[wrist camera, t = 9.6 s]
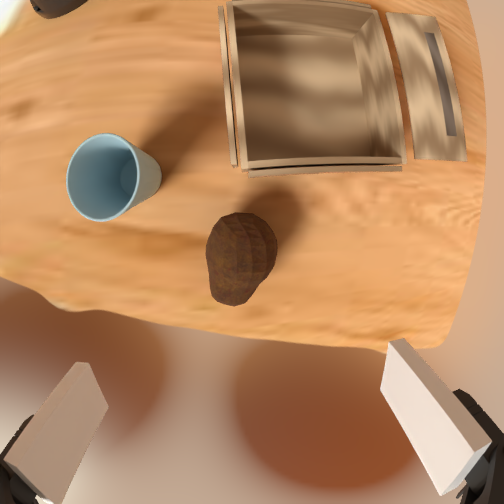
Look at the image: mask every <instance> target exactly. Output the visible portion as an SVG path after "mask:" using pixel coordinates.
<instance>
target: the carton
mask: <svg viewBox="0 0 504 504" xmlns="http://www.w3.org/2000/svg"><path fill="white" fill-rule="evenodd" d="M226 5H227V16H228V27H229V39H230V50H231V61H232V72H233V83H234V94H235V105H236V116H237V127H238V138H239V149H240V160H241V170H242V172H248V178H255V177H267V176H280V175H296V174H315V173H344V172H394V171H402V166H383V165H397V164H407V157H406V146H405V137H404V128H403V121H402V114H401V107H400V101H399V95H398V90H397V84H396V79H395V75H394V70H393V65H392V61H391V57H390V53H389V49H388V45H387V41H386V38H385V34H384V31H383V27H382V24H381V21H380V18H379V15H378V12H377V10H374V9H371V6H370V5H368V4H363V3H358V2H352V1H345V0H232V1H229V2H226ZM218 15H219V29H220V42H221V55H222V67H223V80H224V92H225V104H226V115H227V127H228V138H229V149H230V160H231V165H232V166H233V168H237V167H238V159H237V149H236V138H235V127H234V116H233V104H232V93H231V82H230V70H229V59H228V47H227V35H226V26H225V18H224V10H223V6H218Z"/></svg>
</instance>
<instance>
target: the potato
mask: <svg viewBox="0 0 504 504" xmlns="http://www.w3.org/2000/svg"><path fill="white" fill-rule="evenodd" d="M276 255H277V240H276V237H275V235H274V233H273V231H272V229H271V228H270V227H269V226H268V224H267V223H266V222H265V221H263V220H262V219H260V218H259V217H257V216H255V215H254V214H250V213H236V212H235V213H233V214H230V215H227V216H224V217H221V218H220V219H219V221H218V222H217V223H216V224H215V225H214V227H213V229H212V231H211V234H210V236H209V239H208V242H207V245H206V259H207V265H208V271H209V281H210V289H211V294H212V296H213V298H214V299H215V300H216V301H217V302H220V303H223V304H226V305H230V306H237V305H241V304H244V303H246V302H247V300H248V299H249V298H250V297H251V296H252V294H253V293H254V291H255V290H256V288H257V287H258V285H259V284H260V283H261V282H262V281H263V280H264V279H266V278H267V276H268V275H269V273H270V272H271V270H272V269H273V267H274V264H275V260H276Z"/></svg>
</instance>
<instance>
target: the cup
mask: <svg viewBox="0 0 504 504" xmlns="http://www.w3.org/2000/svg"><path fill="white" fill-rule="evenodd" d="M161 179H162V173H161V168H160V166H159V164H158V163H157V162H156V160H155V159H154V158H152V157H151V156H150V155H148V154H147V153H145V152H143V151H142V150H140V149H139V148H137V147H136V146H134V145H133V144H131V143H130V142H128V141H127V140H125V139H124V138H122V137H120V136H118V135H116V134H111V133H102V134H97V135H94V136H92V137H90V138H88V139H87V140H85V141H84V142H83V143H82V144H81V145H80V146H79V147H78V148H77V149H76V151H75V152H74V154H73V156H72V158H71V160H70V162H69V165H68V169H67V176H66V185H67V192H68V195H69V198H70V200H71V203H72V204H73V206H74V207H75V209H76V210H77V211H78V212H79V213H80V214H81V215H83V216H84V217H86V218H88V219H90V220H93V221H108V220H112V219H114V218H116V217H118V216H120V215H121V214H123V213H125V212H126V211H128V210H129V209H130V208H132V207H134V206H136V205H137V204H139V203H141V202H143V201H144V200H146V199H148V198H150V197H151V196H153V195H154V194H155V193H156V191H157V190H158V188H159V187H160V184H161Z"/></svg>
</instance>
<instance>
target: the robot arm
mask: <svg viewBox="0 0 504 504" xmlns="http://www.w3.org/2000/svg"><path fill="white" fill-rule="evenodd" d="M86 1H87V0H30V2H31V4H32V6H33V8H34V10H35V12H36V13H38V14H39V15H41V16H42V17H44V18H47V19H52V18H56V17H60V16H62V15H64V14H67V13H69V12H70V11H72V10H74V9H75V8H77V7H79V6H80V5H81V4H83V3H84V2H86ZM380 390H381V391H382V394H383V395H384V397H385V398H386V400H387V402H388V404H389V405H390V407H391V409H392V410H393V412H394V414H395V415H396V417H397V419H398V421H399V422H400V424H401V426H402V428H403V429H404V431H405V433H406V435H407V436H408V438H409V440H410V442H411V443H412V445H413V447H414V449H415V451H416V452H417V454H418V456H419V458H420V460H421V461H422V463H423V465H424V466H425V469H426V471H427V472H428V474H429V476H430V478H431V480H432V482H433V484H434V485H435V487H436V489H437V491H438V493H439V495H440V496H441V495H443V494H445V493H447V492H449V491H451V490H453V489H455V488H456V487H458V486H459V484H460V483H461V482H462V481H463V480H464V479H465V480H466V482H467V484H466V485H465V487H464V488H463V489H462V490H461V491H460V492H459V493H458V495H457V497H456V498H459V497H460V496H461V495H462V494H463V496H462V499H461V503H460V504H504V433H502V431H501V430H500V429H499V428H498V427H497V425H496V424H495V423H494V422H493V421H492V419H491V418H490V417H489V416H488V415H487V414H486V412H485V411H483V409H482V408H481V407H480V406H479V405H477V403H476V401H475V400H474V399H473V398H472V397H471V396H470V395H469V394H468V393H466V392H464V391H462V390H460V389H458V390H456V391H453V392H452V391H451V390H450V389H449V388H448V387H447V386H446V384H445V383H444V382H443V381H442V380H441V379H440V378H439V376H438V375H437V374H436V373H435V372H434V371H433V370H432V369H431V367H430V366H429V365H428V364H427V363H426V362H425V361H424V360H423V359H422V357H421V356H420V355H419V354H418V353H417V352H416V351H415V350H414V349H413V348H412V346H411V345H410V344H409V343H408V342H407V341H406V340H405V339H404V338H403V339H399V340H394V341H390V342H389V344H388V351H387V357H386V362H385V368H384V373H383V378H382V383H381V388H380ZM107 409H108V405H107V403H106V401H105V398H104V397H103V394H102V392H101V390H100V388H99V386H98V383H97V381H96V379H95V377H94V374H93V372H92V370H91V367H90V365H89V363H83V362H76V363H75V364H74V365H73V366H72V368H71V369H70V370H69V371H68V373H67V374H66V375H65V376H64V378H63V379H62V380H61V381H60V383H59V384H58V385H57V386H56V388H55V389H54V390H53V391H52V393H51V394H50V395H49V397H48V398H47V399H46V401H45V402H44V403H43V404H42V406H41V407H40V409H39V410H38V411H37V413H36V414H35V415H32V416H30V417H29V418H28V419H26V420H25V421H24V422H23V424H22V425H21V426H20V428H19V430H18V431H17V432H16V433H15V436H13V437H12V439H11V440H10V442H9V443H8V444H7V446H6V447H5V449H4V450H3V452H2V453H1V454H0V504H39V503H38V501H37V500H36V499H35V497H36V495H38V496H39V497H40V498H41V499H42V500H44V501H45V502H46V503H49V504H61V503H62V501H63V499H64V497H65V494H66V492H67V490H68V488H69V486H70V483H71V481H72V479H73V477H74V475H75V473H76V471H77V468H78V467H79V465H80V462H81V460H82V458H83V456H84V454H85V452H86V450H87V448H88V446H89V444H90V442H91V440H92V438H93V436H94V434H95V432H96V430H97V428H98V426H99V425H100V423H101V421H102V418H103V417H104V415H105V413H106V411H107Z"/></svg>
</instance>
